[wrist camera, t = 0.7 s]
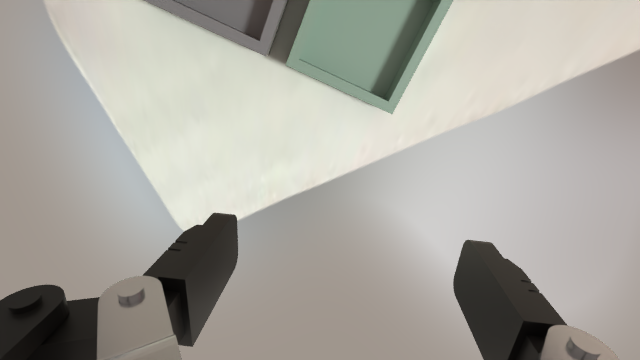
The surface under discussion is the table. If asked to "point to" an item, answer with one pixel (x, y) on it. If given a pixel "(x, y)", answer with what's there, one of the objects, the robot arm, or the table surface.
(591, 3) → the table surface
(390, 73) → the tray
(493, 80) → the table surface
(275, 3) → the tray
